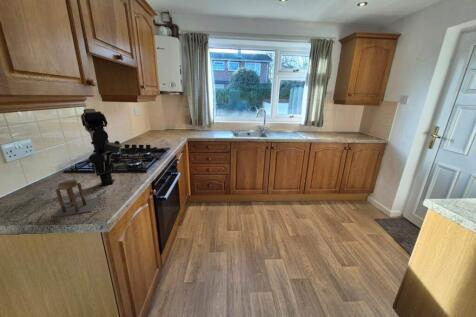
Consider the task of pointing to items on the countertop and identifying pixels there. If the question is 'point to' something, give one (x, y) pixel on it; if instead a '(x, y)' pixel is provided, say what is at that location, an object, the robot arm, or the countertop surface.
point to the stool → (70, 194)
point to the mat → (82, 209)
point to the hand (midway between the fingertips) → (106, 168)
